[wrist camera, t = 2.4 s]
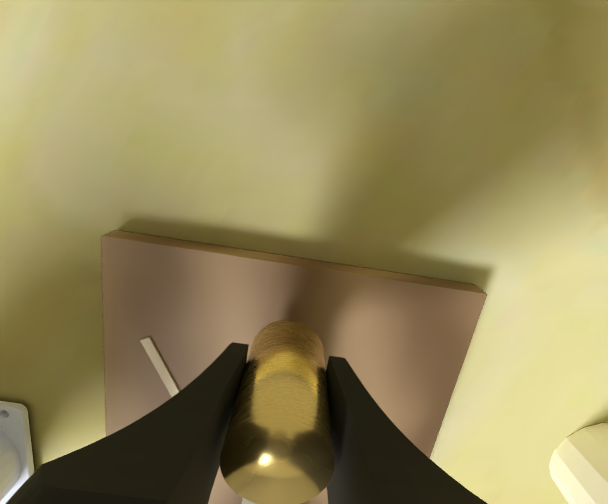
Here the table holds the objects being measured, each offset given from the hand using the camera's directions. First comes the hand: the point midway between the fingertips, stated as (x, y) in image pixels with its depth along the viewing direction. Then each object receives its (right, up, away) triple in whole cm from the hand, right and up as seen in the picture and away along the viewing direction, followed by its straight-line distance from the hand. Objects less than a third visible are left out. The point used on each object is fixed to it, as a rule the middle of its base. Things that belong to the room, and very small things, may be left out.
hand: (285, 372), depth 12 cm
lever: (-1, -6, +5) cm, 8 cm away
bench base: (-1, -6, +7) cm, 9 cm away
